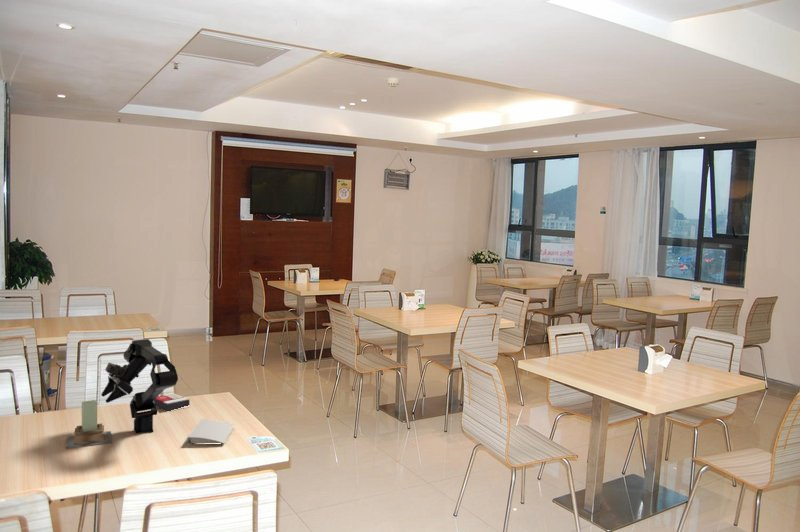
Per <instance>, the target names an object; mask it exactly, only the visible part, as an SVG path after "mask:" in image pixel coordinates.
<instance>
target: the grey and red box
mask: <svg viewBox="0 0 800 532" xmlns="http://www.w3.org/2000/svg"><path fill="white" fill-rule="evenodd" d="M154 401H155V404H156V406H157V407H156V408H158V407H159V409H161V410H162V409H163V410H162V411H164V410H165V411H164V412H166V411H169V412H172V411H171V410H174V409H178V408H181V407H184V406H188V405H190V399H188V398H186V397H184V396H182V395H179V394H177V393H175V392H174V393H173V392H172V393H168V394H164V395H159V396H158V397H157V398H156V399H155V400H154ZM190 406H191V405H190ZM178 410H179V409H178ZM174 411H175V410H174Z"/></svg>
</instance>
